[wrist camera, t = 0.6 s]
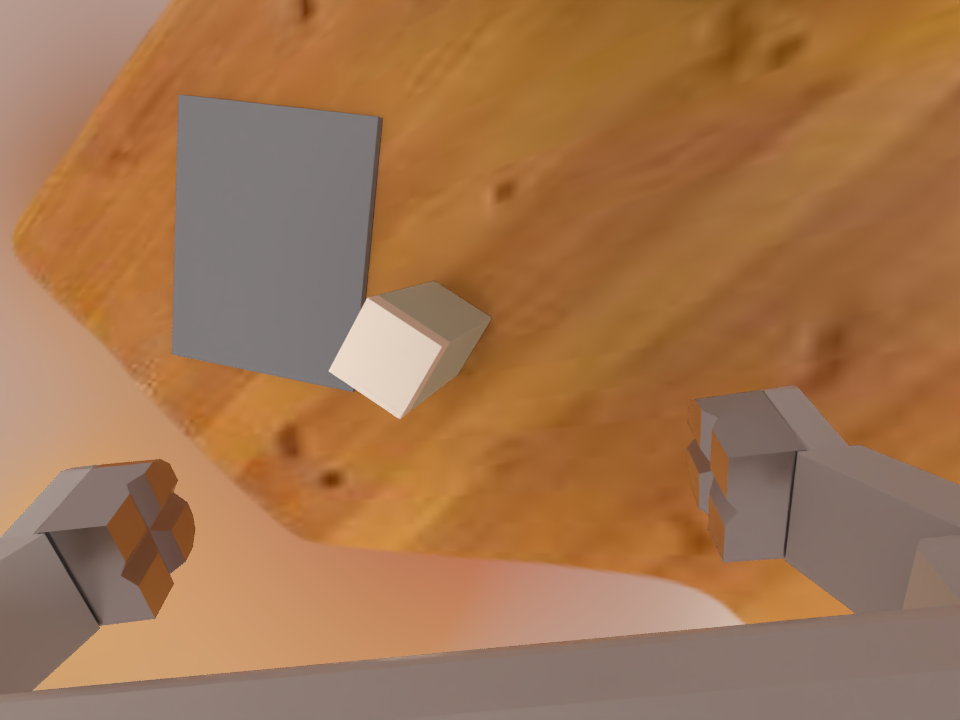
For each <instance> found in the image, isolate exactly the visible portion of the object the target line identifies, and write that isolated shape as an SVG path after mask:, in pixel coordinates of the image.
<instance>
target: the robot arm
mask: <svg viewBox="0 0 960 720" xmlns="http://www.w3.org/2000/svg"><path fill="white" fill-rule="evenodd" d="M688 425H689V427H690V429H691V431H692V433H693V435H694V437H695V438H694V440H693V441H692V442H691V444H690V445H689V446H688V447H687V466H688V473H689V480H690V485H691V489H692V492H693V495H694V498H695V500H696V503H697V505H698V508H699V509H701V510H703V511H704V512H706V513H708V530H709V532H710V535H711V537H712V539H713V541H714V543H715V545H716V548H717V550H718V552H719V554H720V556H721V559H722V561H723V562H737V561H751V560H765V559H778V558H785V561H786V562H787V563H789V564H790V565H791V566H793V567H794V568H795V569H797V570H798V571H799V572H801V573H802V574H803V575H805V576H806V577H808V578H809V579H810V580H812V581H813V582H814V583H816V584H817V585H818V586H820V587H821V588H822V589H824V590H825V591H826V592H828V593H829V594H830V595H832V596H833V597H834V598H836V599H837V600H838V601H840V602H841V603H842V604H844V605H845V606H846V607H848V608H849V609H850V610H852V611H853V612H854V613H856V614H851V615H840V616H829V617H818V618H808V619H797V620H787V621H777V622H767V623H757V624H746V625H735V626H725V627H714V628H704V629H692V630H681V631H670V632H660V633H649V634H640V635H639V634H638V635H627V636H616V637H606V638H595V639H584V640H573V641H562V642H551V643H541V644H530V645H519V646H509V647H497V648H488V649H476V650H465V651H454V652H444V653H433V654H422V655H413V656H402V657H391V658H380V659H370V660H360V661H349V662H338V663H328V664H317V665H307V666H296V667H286V668H275V669H265V670H253V671H243V672H232V673H221V674H211V675H199V676H189V677H179V678H167V679H156V680H146V681H135V682H124V683H114V684H102V685H92V686H81V687H70V688H59V689H48V690H38V691H32V690H33V689H35V688H36V687H37V686H38V685H39V684H40V683H41V682H42V681H43V680H44V679H45V678H47V677H48V676H49V675H50V674H51V673H52V672H53V671H54V670H55V669H56V668H57V667H59V666H60V665H61V664H62V663H63V662H64V661H65V660H66V659H67V658H68V657H69V656H71V655H72V654H73V653H74V652H75V651H76V650H77V649H78V648H79V647H80V646H81V645H83V644H84V643H85V642H86V641H87V640H88V639H89V638H90V637H91V636H92V635H94V634H95V633H96V632H97V631H98V630H99V629H100V627H99V626H101V625H109V624H118V623H125V622H133V621H140V620H148V619H155V618H156V616H157V614H158V612H159V610H160V609H161V607H162V604H163V603H164V601H165V599H166V597H167V596H168V594H169V592H170V590H171V588H172V586H173V584H174V583H173V580H172V578H171V575H170V573H172V572H173V571H174V570H175V569H177V568H178V567H179V566H181V565H182V564H183V563H184V562H186V560H187V558H188V556H189V554H190V552H191V550H192V547H193V541H194V535H195V525H194V519H193V514H192V512H191V509H190V507H189V505H188V503H187V502H186V501H185V500H183V499H182V498H181V497H179V496H178V495H176V494H175V493H174V489H175V487H176V484H177V482H178V479H177V478H176V475H175V473H174V472H173V470H172V467H171V465H170V464H169V463H167V462H165V461H163V460H161V459H156V460H146V461H135V462H125V463H115V464H103V465H92V466H84V467H76V468H71V469H67V470H64V471H61V472H60V473H59V474H58V476H57V477H56V478H55V479H54V480H53V481H52V482H51V483H50V485H48V486H47V488H46V489H45V490H44V491H43V492H42V493H41V494H40V495H39V496H38V497H37V499H36V500H35V501H34V502H33V503H32V504H31V505H30V506H29V507H28V508H27V509H26V510H25V512H24V513H23V514H22V515H21V516H20V517H19V518H18V519H17V520H16V521H15V522H14V524H13V525H12V526H11V527H10V528H9V529H8V530H7V531H6V532H5V533H4V534H3V536H2V537H1V538H0V720H960V485H958V484H956V483H953V482H951V481H948V480H946V479H944V478H941V477H939V476H936V475H934V474H931V473H929V472H926V471H924V470H921V469H919V468H916V467H914V466H911V465H909V464H906V463H904V462H901V461H899V460H896V459H894V458H891V457H889V456H886V455H884V454H881V453H879V452H876V451H874V450H871V449H869V448H866V447H864V446H861V445H855V446H849V445H848V444H847V443H846V442H845V441H844V439H843V438H842V437H841V436H840V435H839V434H838V433H837V431H836V430H835V429H834V428H833V427H832V426H831V425H830V423H829V422H828V421H827V420H826V419H825V418H824V416H823V415H822V414H821V413H820V412H819V411H818V410H817V408H816V407H815V406H814V405H813V404H812V403H811V402H810V400H809V399H808V398H807V397H806V396H805V395H804V394H803V392H802V391H801V390H800V389H799V388H798V387H796V386H793V385H789V386H782V387H776V388H769V389H762V390H758V391H751V392H743V393H736V394H728V395H721V396H714V397H706V398H699V399H692V400H690V402H689V407H688Z"/></svg>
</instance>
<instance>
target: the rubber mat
mask: <svg viewBox="0 0 960 720" xmlns="http://www.w3.org/2000/svg"><path fill="white" fill-rule="evenodd" d="M381 130H382V118H380V117H376V116H367V115H358V114H349V113H340V112H331V111H322V110H313V109H304V108H295V107H286V106H277V105H268V104H259V103H250V102H241V101H232V100H223V99H214V98H205V97H196V96H187V95H179V97H178V136H177V175H176V214H175V253H174V292H173V331H172V354H173V355H178V356H183V357H187V358H192V359H197V360H202V361H207V362H211V363H216V364H221V365H226V366H231V367H235V368H240V369H245V370H250V371H255V372H259V373H264V374H269V375H274V376H279V377H283V378H288V379H293V380H298V381H303V382H308V383H312V384H317V385H322V386H327V387H332V388H336V389H341V390H346V391H351V392H354V391H355V389H354V388H352V387H351V386H350V385H348V384H347V383H345V382H344V381H342V380H341V379H339V378H338V377H336V376H335V375H333V374H332V373H330V372H329V369H330V367H331V365H332V363H333V362H334V360H335V358H336V356H337V354H338V352H339V350H340V348H341V346H342V345H343V343H344V341H345V339H346V337H347V335H348V333H349V331H350V329H351V328H352V326H353V324H354V322H355V320H356V318H357V316H358V314H359V312H360V310H361V309H362V307H363V305H364V303H365V301H366V290H367V280H368V269H369V258H370V247H371V237H372V226H373V215H374V205H375V194H376V183H377V173H378V162H379V151H380V140H381Z"/></svg>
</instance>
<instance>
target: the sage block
mask: <svg viewBox="0 0 960 720" xmlns="http://www.w3.org/2000/svg"><path fill="white" fill-rule="evenodd" d="M491 319H492V318H491V317H490V316H488V315H487V314H485V313H484V312H482V311H480V310H479V309H477V308H476V307H474V306H473V305H471V304H470V303H468V302H467V301H465V300H463V299H462V298H460V297H459V296H457V295H456V294H454V293H453V292H451V291H449V290H448V289H446V288H445V287H443V286H442V285H440V284H439V283H437V282H435V281H432V282H428V283H424V284H420V285H416V286H412V287H408V288H404V289H400V290H396V291H392V292H388V293H384V294H380V295H376V296H372V297H368V298H367V299H366V301H365V303H364V305H363V307H362V309H361V310H360V312H359V314H358V316H357V318H356V320H355V322H354V324H353V326H352V328H351V329H350V331H349V333H348V335H347V337H346V339H345V341H344V343H343V345H342V346H341V348H340V350H339V352H338V354H337V356H336V358H335V360H334V362H333V363H332V365H331V367H330V369H329V372H330V373H332V374H333V375H335V376H336V377H338V378H339V379H341V380H342V381H344V382H345V383H347V384H348V385H350V386H351V387H352V388H354V389H355V390H357V391H358V392H360V393H361V394H363V395H364V396H366V397H367V398H369V399H370V400H372V401H373V402H375V403H376V404H378V405H379V406H381V407H382V408H384V409H385V410H387V411H388V412H390V413H391V414H393V415H394V416H395V417H397V418H398V419H401V418H402V417H403V416H405V415H406V414H407V413H409V412H410V411H411V410H413V409H414V408H415V407H416V406H418V405H419V404H420V403H422V402H423V401H424V400H426V399H427V398H428V397H429V396H431V395H432V394H433V393H435V392H436V391H437V390H439V389H440V388H441V387H442V386H444V385H445V384H446V383H448V382H449V381H450V380H452V379H453V378H454V377H455V376H457V375H458V374H459V372H460V370H461V369H462V367H463V365H464V364H465V362H466V360H467V359H468V357H469V355H470V354H471V352H472V350H473V349H474V347H475V345H476V344H477V342H478V340H479V339H480V337H481V335H482V334H483V332H484V330H485V329H486V327H487V325H488V324H489V322H490V320H491Z"/></svg>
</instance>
